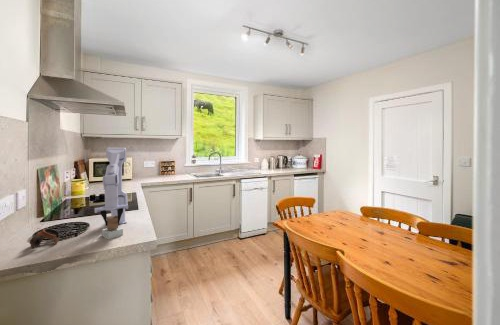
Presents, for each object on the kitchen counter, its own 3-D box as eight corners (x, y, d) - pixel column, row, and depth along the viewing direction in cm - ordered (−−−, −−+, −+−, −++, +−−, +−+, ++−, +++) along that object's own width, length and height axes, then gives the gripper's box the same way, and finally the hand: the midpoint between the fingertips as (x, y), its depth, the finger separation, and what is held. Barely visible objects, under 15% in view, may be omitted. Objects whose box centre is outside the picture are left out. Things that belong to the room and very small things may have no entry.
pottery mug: (38, 242, 111) (49, 226, 113) (56, 251, 112) (67, 234, 113) (17, 247, 100) (29, 228, 101) (37, 256, 100) (49, 238, 102)
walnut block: (107, 227, 120) (106, 216, 120) (117, 225, 123) (116, 215, 122) (107, 230, 116) (107, 219, 116) (118, 228, 119) (117, 217, 118)
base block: (102, 236, 119) (102, 229, 119) (116, 232, 125) (116, 225, 125) (108, 239, 115) (108, 232, 115) (123, 235, 121) (122, 228, 120)
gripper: (94, 201, 111) (95, 229, 112) (128, 198, 119) (129, 224, 120) (94, 198, 117) (95, 225, 118) (127, 195, 125) (127, 220, 126)
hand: (112, 224), depth 119 cm, fingers closed on walnut block, 4 cm apart
